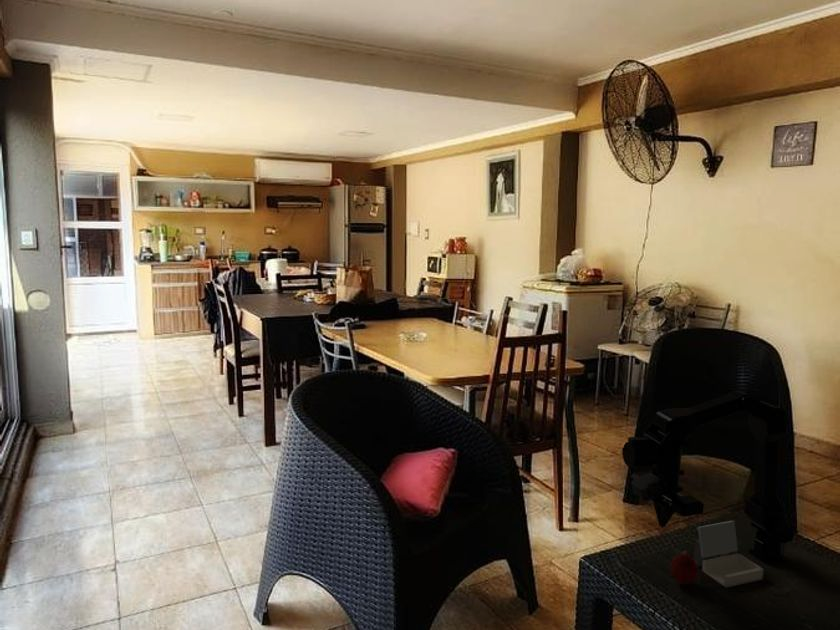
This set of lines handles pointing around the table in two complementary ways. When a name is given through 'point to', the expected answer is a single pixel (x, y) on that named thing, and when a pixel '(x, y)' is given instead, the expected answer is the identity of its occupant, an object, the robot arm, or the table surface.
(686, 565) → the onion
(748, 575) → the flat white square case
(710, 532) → the cover
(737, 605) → the table surface
